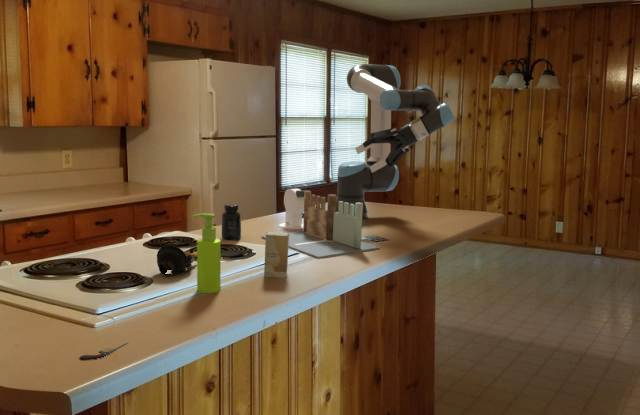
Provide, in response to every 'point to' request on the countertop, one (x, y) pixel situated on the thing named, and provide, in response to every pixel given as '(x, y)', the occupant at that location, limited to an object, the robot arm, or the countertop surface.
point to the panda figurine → (293, 208)
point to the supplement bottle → (231, 222)
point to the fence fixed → (319, 215)
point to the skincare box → (276, 254)
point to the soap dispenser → (208, 257)
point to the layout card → (322, 245)
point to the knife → (88, 357)
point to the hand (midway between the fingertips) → (363, 160)
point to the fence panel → (348, 224)
